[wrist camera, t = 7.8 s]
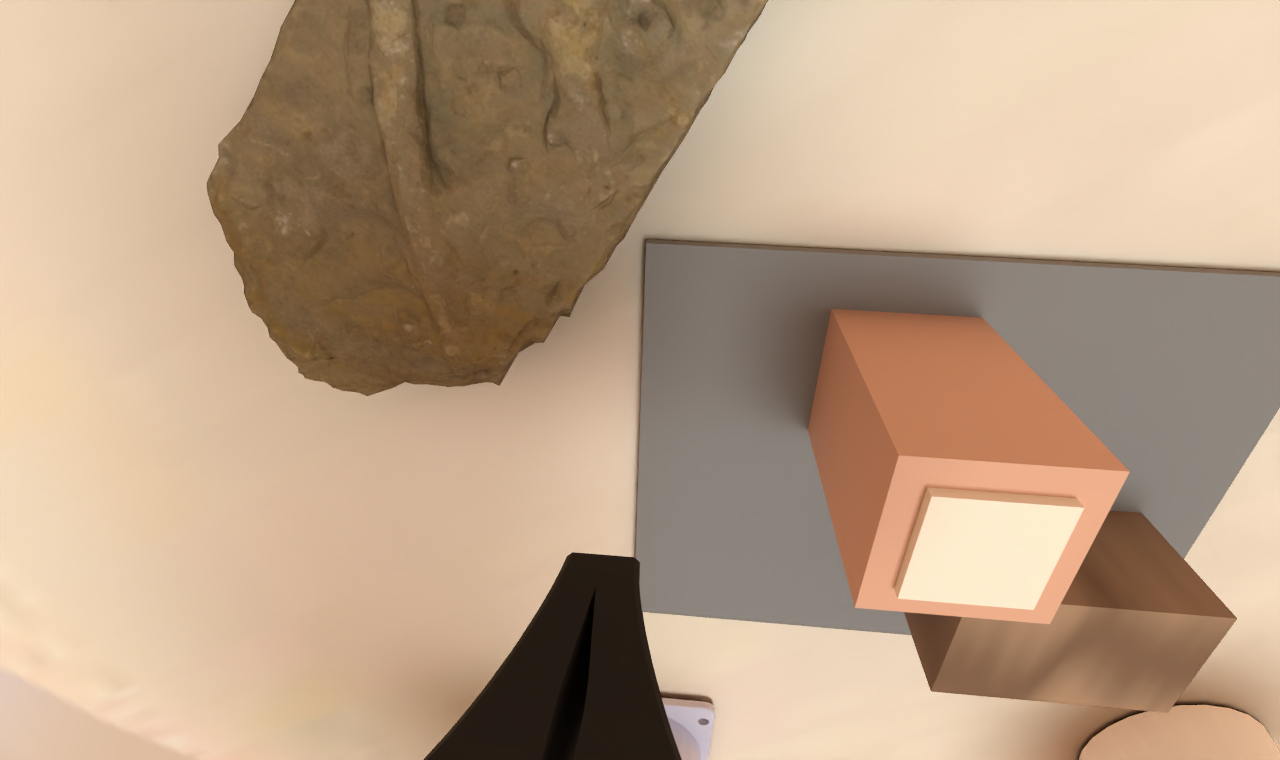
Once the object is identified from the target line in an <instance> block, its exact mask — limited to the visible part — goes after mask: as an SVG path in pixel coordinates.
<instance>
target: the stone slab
mask: <svg viewBox="0 0 1280 760" xmlns="http://www.w3.org/2000/svg"><path fill="white" fill-rule="evenodd" d="M767 2H768V0H295V2H294V4H293V6H292V8H291V10H290V12H289V13H288V15H287V17H286V19H285V21H284V23H283V24H282V26H281V29H280V32H279V36H278V39H277V42H276V45H275V48H274V51H273V54H272V57H271V60H270V62H269V64H268V66H267V68H266V70H265V72H264V74H263V75H262V78H261V80H260V83H259V85H258V87H257V90H256V92H255V95H254V97H253V99H252V101H251V103H250V104H249V106H248V108H247V110H246V112H245V114H244V115H243V117H242V119H241V121H240V122H239V123H238V124H237V125H236V126H235V127H234V128H233V130H232V131H231V132H230V133H229V134H228V135H227V136H226V137H225V138H224V139H223V140H222V141H221V142H220V143H219V144H218V147H219V159H218V161H217V163H216V165H215V167H214V169H213V171H212V173H211V175H210V177H209V179H208V182H207V191H208V196H209V199H210V203H211V206H212V209H213V213H214V215H215V216H216V218H217V219H218V221H219V222H220V223H221V225H222V228H223V231H224V235H225V238H226V241H227V243H228V244H229V246H230V247H231V249H232V250H233V251H234V264H235V267H236V269H237V271H238V272H239V274H240V275H241V277H242V280H243V283H244V294H245V297H246V300H247V302H248V305H249V307H250V309H251V311H252V312H253V313H254V314H256V315H257V316H259V317H260V318H261V319H262V320H263V321H264V323H265V324H266V326H267V327H268V331H269V335H270V338H271V339H273V340H274V341H275V342H276V343H277V345H278V346H279V348H280V349H281V350H282V352H283V353H284V355H285V356H286V357H287V359H289V360H291V361H292V362H293V363H294V364H295V365H296V366H297V367H298V372H299V373H301V374H303V375H304V377H305V378H307V379H311V380H314V381H322V382H326V383H328V384H329V385H331V386H332V387H333V388H336V389H340V390H343V391H351V392H359V393H361V394H364V395H366V396H369V395H372V394H375V393H378V392H381V391H384V390H387V389H391V388H393V387H396V386H397V385H399V384H401V383H403V382H408V383H412V384H431V385H439V386H446V387H452V386H466V385H471V384H477V383H483V382H493V383H495V384H497V385H500V384H501V382H502V380H503V378H504V377H505V375H506V373H507V371H508V370H509V368H510V366H511V364H512V363H513V361H514V359H515V358H516V356H517V354H518V352H520V351H522V350H524V349H525V348H527V347H529V346H530V345H532V344H534V343H541V342H544V341H545V339H546V338H547V336H548V334H549V333H550V331H551V329H552V328H553V326H554V324H555V323H556V321H557V319H558V318H559V317H560V316H567V317H570V315H571V312H572V310H573V307H574V305H575V303H576V301H577V299H578V297H579V295H580V293H581V291H582V289H583V287H584V285H585V284H586V283H587V282H588V281H589V280H591V279H592V278H593V277H594V276H596V275H597V274H598V273H599V272H600V271H601V270H602V269H603V268H604V267H605V265H606V263H607V262H608V260H609V258H610V256H611V254H612V253H613V251H614V249H615V247H616V246H617V244H618V243H620V242H621V241H622V240H623V239H624V237H625V235H626V233H627V232H628V230H629V228H630V226H631V224H632V222H633V220H634V219H635V217H636V215H637V213H638V211H639V210H640V208H641V207H642V205H643V203H644V202H645V200H646V198H647V197H648V195H649V193H650V191H651V190H652V188H653V186H654V184H655V183H656V181H657V179H658V178H659V176H660V174H661V172H662V171H663V169H664V168H665V166H666V165H667V163H668V162H669V160H670V159H671V157H672V156H673V154H674V153H675V151H676V150H677V148H678V147H679V145H680V144H681V142H682V141H683V139H684V138H685V136H686V134H687V132H688V131H689V129H690V127H691V125H692V124H693V122H694V120H695V118H696V117H697V115H698V113H699V111H700V110H701V108H702V107H703V106H704V104H705V103H706V102H707V100H708V98H709V96H710V94H711V92H712V90H713V88H714V85H715V84H716V83H717V82H718V80H719V79H720V78H721V77H722V75H723V74H724V73H725V71H726V70H727V68H728V66H729V64H730V62H731V60H732V59H733V57H734V55H735V53H736V51H737V49H738V48H739V47H740V46H741V44H742V43H743V42H744V40H745V38H746V36H747V33H748V32H749V30H750V29H751V27H752V26H753V25H754V23H755V22H756V21H757V19H758V18H759V16H760V15H761V13H762V11H763V9H764V7H765V5H766V3H767Z"/></svg>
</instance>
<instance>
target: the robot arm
mask: <svg viewBox="0 0 1280 760" xmlns="http://www.w3.org/2000/svg"><path fill="white" fill-rule="evenodd" d="M639 579H640V562H639V561H638V560H637V559H636V558H634V557H622V556H610V555H598V554H585V553H571V554H570V555H568V556H567V558H566V560H565V562H564V564H563V566H562V569H561V570H560V572H559V574H558V576H557V578H556V580H555V582H554V584H553V586H552V588H551V589H550V591H549V593H548V595H547V596H546V598H545V600H544V601H543V603H542V605H541V607H540V608H539V610H538V612H537V613H536V615H535V616H534V618H533V619H532V621H531V622H530V624H529V626H528V627H527V629H526V630H525V632H524V633H523V635H522V636H521V638H520V639H519V641H518V643H517V644H516V645H515V647H514V648H513V650H512V651H511V653H510V654H509V655H508V657H507V658H506V659H505V661H504V662H503V664H502V665H501V666H500V668H499V669H498V670H497V672H496V673H495V675H494V676H493V677H492V679H491V680H490V681H489V683H488V684H487V685H486V687H485V688H484V689H483V691H482V692H481V693H480V694H479V696H478V697H477V698H476V700H475V701H474V702H473V703H472V705H471V706H470V707H469V708H468V709H467V711H466V712H465V713H464V714H463V715H462V717H461V718H460V719H459V720H458V721H457V723H456V724H455V725H454V726H453V727H452V729H451V730H450V731H449V732H448V733H447V734H446V735H445V737H444V738H443V739H442V740H441V741H440V742H439V743H438V744H437V745H436V746H435V748H434V749H433V750H432V751H431V752H430V753H429V754H428V755H427V756H426V757H425V759H424V760H708V759H709V752H710V745H711V738H712V732H713V725H714V718H715V708H714V706H713V705H712V704H710V703H709V702H703V701H692V700H682V699H671V698H662V697H661V694H660V690H659V687H658V683H657V680H656V676H655V672H654V668H653V664H652V659H651V655H650V650H649V646H648V641H647V636H646V632H645V626H644V620H643V613H642V606H641V598H640V585H639Z"/></svg>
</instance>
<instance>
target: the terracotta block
mask: <svg viewBox="0 0 1280 760" xmlns="http://www.w3.org/2000/svg"><path fill="white" fill-rule="evenodd" d="M808 433H809V437H810V441H811V445H812V448H813V452H814V456H815V460H816V464H817V467H818V471H819V475H820V479H821V482H822V486H823V490H824V494H825V497H826V501H827V505H828V509H829V513H830V516H831V520H832V524H833V528H834V531H835V535H836V539H837V543H838V546H839V550H840V554H841V558H842V562H843V565H844V569H845V573H846V577H847V580H848V584H849V588H850V592H851V596H852V599H853V603H854V607H855V608H863V609H875V610H887V611H899V612H910V613H922V614H934V615H946V616H958V617H970V618H981V619H993V620H1005V621H1017V622H1029V623H1040V624H1050V623H1051V621H1052V619H1053V617H1054V616H1055V614H1056V612H1057V610H1058V608H1059V606H1060V604H1061V602H1062V600H1063V598H1064V596H1065V595H1066V593H1067V591H1068V589H1069V587H1070V585H1071V583H1072V581H1073V579H1074V577H1075V575H1076V574H1077V572H1078V570H1079V568H1080V566H1081V564H1082V562H1083V560H1084V558H1085V556H1086V555H1087V553H1088V551H1089V549H1090V547H1091V545H1092V543H1093V541H1094V539H1095V537H1096V535H1097V534H1098V532H1099V530H1100V528H1101V526H1102V524H1103V522H1104V520H1105V518H1106V516H1107V514H1108V513H1109V511H1110V509H1111V507H1112V505H1113V503H1114V501H1115V499H1116V497H1117V495H1118V493H1119V492H1120V490H1121V488H1122V486H1123V484H1124V482H1125V480H1126V478H1127V476H1128V474H1129V473H1130V471H1129V470H1128V469H1127V468H1126V467H1125V466H1124V465H1123V464H1122V463H1121V462H1120V461H1119V460H1118V459H1117V458H1116V457H1115V456H1114V455H1113V453H1112V452H1111V451H1110V450H1109V449H1108V448H1107V447H1106V446H1105V445H1104V444H1103V443H1102V442H1101V441H1100V440H1099V439H1098V438H1097V437H1096V436H1095V435H1094V434H1093V433H1092V432H1091V430H1090V429H1089V428H1088V427H1087V426H1086V425H1085V424H1084V423H1083V422H1082V421H1081V420H1080V419H1079V418H1078V417H1077V416H1076V415H1075V414H1074V413H1073V412H1072V411H1071V410H1070V409H1069V408H1068V406H1067V405H1066V404H1065V403H1064V402H1063V401H1062V400H1061V399H1060V398H1059V397H1058V396H1057V395H1056V394H1055V393H1054V392H1053V391H1052V390H1051V389H1050V388H1049V387H1048V386H1047V385H1046V383H1045V382H1044V381H1043V380H1042V379H1041V378H1040V377H1039V376H1038V375H1037V374H1036V373H1035V372H1034V371H1033V370H1032V369H1031V368H1030V367H1029V366H1028V365H1027V364H1026V363H1025V362H1024V360H1023V359H1022V358H1021V357H1020V356H1019V355H1018V354H1017V353H1016V352H1015V351H1014V350H1013V349H1012V348H1011V347H1010V346H1009V345H1008V344H1007V343H1006V342H1005V341H1004V340H1003V339H1002V338H1001V336H1000V335H999V334H998V333H997V332H996V331H995V330H994V329H993V328H992V327H991V326H990V325H989V324H988V323H987V322H986V321H985V320H984V319H983V318H981V317H963V316H946V315H929V314H912V313H894V312H877V311H860V310H842V309H831V314H830V319H829V324H828V329H827V334H826V339H825V344H824V349H823V355H822V360H821V365H820V370H819V375H818V380H817V385H816V391H815V396H814V401H813V406H812V411H811V416H810V421H809V426H808Z"/></svg>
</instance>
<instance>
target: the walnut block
mask: <svg viewBox="0 0 1280 760" xmlns="http://www.w3.org/2000/svg"><path fill="white" fill-rule="evenodd" d="M904 614H905V617H906V620H907V623H908V626H909V629H910V632H911V635H912V638H913V640H914V643H915V646H916V649H917V652H918V655H919V658H920V661H921V664H922V666H923V669H924V672H925V675H926V678H927V681H928V684H929V687H930V690H931V691H933V692H944V693H955V694H966V695H977V696H988V697H999V698H1010V699H1021V700H1033V701H1044V702H1055V703H1066V704H1077V705H1088V706H1099V707H1110V708H1121V709H1132V710H1143V711H1154V712H1165V713H1168V712H1169V710H1170V709H1171V708H1172V706H1173V705H1174V704H1175V702H1176V701H1177V700H1178V698H1179V697H1180V695H1181V694H1182V693H1183V691H1184V690H1185V689H1186V687H1187V686H1188V685H1189V683H1190V682H1191V681H1192V679H1193V678H1194V677H1195V675H1196V674H1197V672H1198V671H1199V670H1200V668H1201V667H1202V666H1203V664H1204V663H1205V662H1206V660H1207V659H1208V658H1209V656H1210V655H1211V653H1212V652H1213V651H1214V649H1215V648H1216V647H1217V645H1218V644H1219V643H1220V641H1221V640H1222V639H1223V637H1224V636H1225V634H1226V633H1227V632H1228V630H1229V629H1230V628H1231V626H1232V625H1233V624H1234V622H1235V621H1236V620H1237V618H1236V617H1235V616H1234V615H1233V613H1232V612H1231V611H1230V610H1229V609H1228V608H1227V607H1226V606H1225V605H1224V603H1223V602H1222V601H1221V600H1220V599H1219V598H1218V597H1217V596H1216V595H1215V593H1214V592H1213V591H1212V590H1211V589H1210V588H1209V587H1208V586H1207V585H1206V583H1205V582H1204V581H1203V580H1202V579H1201V578H1200V577H1199V576H1198V575H1197V573H1196V572H1195V571H1194V570H1193V569H1192V568H1191V567H1190V566H1189V565H1188V563H1187V562H1186V561H1185V560H1184V559H1183V558H1182V557H1181V556H1180V555H1179V554H1178V552H1177V551H1176V550H1175V549H1174V548H1173V547H1172V546H1171V545H1170V544H1169V542H1168V541H1167V540H1166V539H1165V538H1164V537H1163V536H1162V535H1161V534H1160V532H1159V531H1158V530H1157V529H1156V528H1155V527H1154V526H1153V525H1152V524H1151V522H1150V521H1149V520H1148V519H1147V518H1146V517H1145V516H1144V515H1143V514H1142V513H1135V512H1122V511H1109V513H1108V514H1107V516H1106V518H1105V520H1104V522H1103V524H1102V526H1101V528H1100V530H1099V532H1098V534H1097V535H1096V537H1095V539H1094V541H1093V543H1092V545H1091V547H1090V549H1089V551H1088V553H1087V555H1086V556H1085V558H1084V560H1083V562H1082V564H1081V566H1080V568H1079V570H1078V572H1077V574H1076V575H1075V577H1074V579H1073V581H1072V583H1071V585H1070V587H1069V589H1068V591H1067V593H1066V595H1065V596H1064V598H1063V600H1062V602H1061V604H1060V606H1059V608H1058V610H1057V612H1056V614H1055V616H1054V617H1053V619H1052V621H1051V623H1050V624H1040V623H1029V622H1017V621H1005V620H993V619H981V618H970V617H958V616H946V615H934V614H922V613H910V612H904Z"/></svg>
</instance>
